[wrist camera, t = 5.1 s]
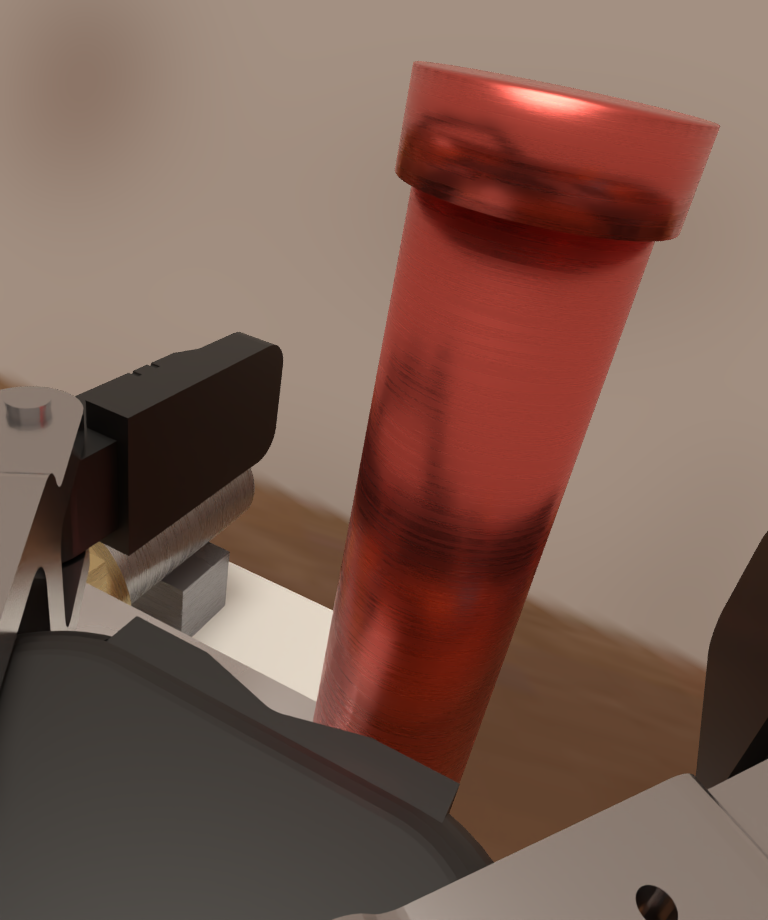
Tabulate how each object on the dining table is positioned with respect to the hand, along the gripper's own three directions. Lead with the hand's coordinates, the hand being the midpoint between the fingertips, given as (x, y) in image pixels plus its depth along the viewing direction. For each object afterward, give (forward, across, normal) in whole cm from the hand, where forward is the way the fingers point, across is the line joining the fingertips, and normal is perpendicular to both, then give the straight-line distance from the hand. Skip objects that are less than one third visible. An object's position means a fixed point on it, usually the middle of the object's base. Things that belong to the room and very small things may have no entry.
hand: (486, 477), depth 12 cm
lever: (-2, +7, +7) cm, 10 cm away
